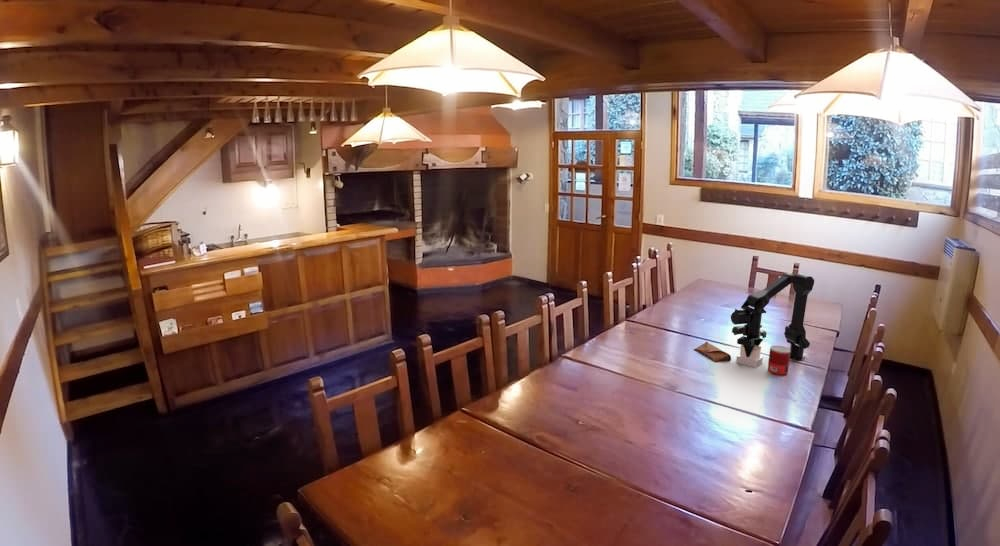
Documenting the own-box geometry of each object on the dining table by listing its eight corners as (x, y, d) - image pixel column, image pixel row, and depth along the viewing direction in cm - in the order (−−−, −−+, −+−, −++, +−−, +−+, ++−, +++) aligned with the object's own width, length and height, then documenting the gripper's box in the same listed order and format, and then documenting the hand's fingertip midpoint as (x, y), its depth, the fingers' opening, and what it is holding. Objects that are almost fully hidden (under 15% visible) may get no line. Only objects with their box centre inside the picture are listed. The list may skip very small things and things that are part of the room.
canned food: (789, 376, 253) (792, 352, 251) (769, 375, 255) (772, 351, 252) (784, 369, 260) (788, 346, 258) (765, 368, 262) (768, 344, 259)
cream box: (744, 353, 271) (745, 342, 270) (759, 357, 266) (761, 346, 265) (739, 356, 268) (740, 345, 266) (755, 360, 263) (756, 349, 262)
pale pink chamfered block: (742, 358, 273) (742, 352, 273) (762, 363, 267) (762, 357, 266) (736, 362, 268) (736, 356, 268) (756, 367, 262) (756, 361, 262)
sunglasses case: (691, 348, 284) (698, 336, 283) (701, 354, 286) (708, 342, 286) (715, 362, 267) (723, 350, 267) (726, 368, 270) (733, 356, 270)
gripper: (744, 314, 275) (740, 345, 279) (727, 323, 262) (723, 356, 266) (768, 319, 268) (764, 351, 271) (752, 329, 255) (748, 362, 258)
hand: (749, 355), depth 267 cm, fingers closed on cream box, 5 cm apart
